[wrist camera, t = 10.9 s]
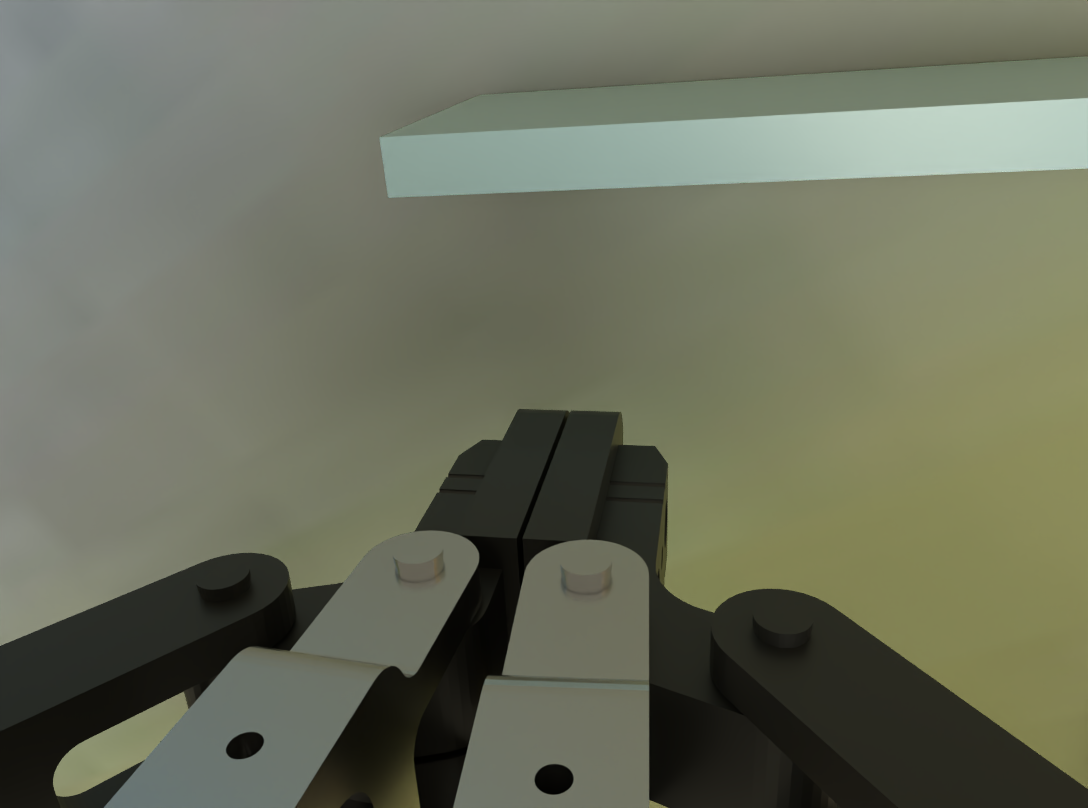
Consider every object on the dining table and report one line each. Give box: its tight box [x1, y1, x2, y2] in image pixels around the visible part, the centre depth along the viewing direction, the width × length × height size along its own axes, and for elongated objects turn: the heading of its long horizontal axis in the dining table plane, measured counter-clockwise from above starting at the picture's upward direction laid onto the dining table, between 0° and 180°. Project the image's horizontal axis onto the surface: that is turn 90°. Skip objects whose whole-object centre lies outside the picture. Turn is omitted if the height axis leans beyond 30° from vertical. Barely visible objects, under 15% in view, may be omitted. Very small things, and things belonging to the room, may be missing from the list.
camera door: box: [379, 56, 1088, 198], centre depth 16 cm, size 19×1×7 cm, turn 94°
